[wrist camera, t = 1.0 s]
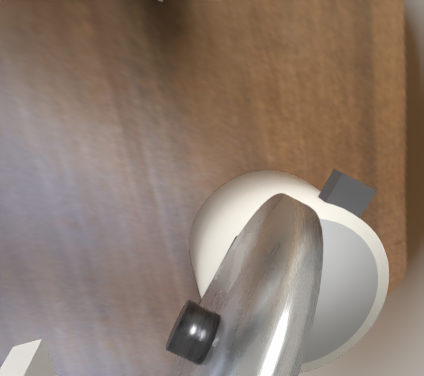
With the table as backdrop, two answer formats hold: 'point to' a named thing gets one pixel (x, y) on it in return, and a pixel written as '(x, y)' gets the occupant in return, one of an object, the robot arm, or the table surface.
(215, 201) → the cooker pot
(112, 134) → the table surface
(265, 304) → the cooker lid
